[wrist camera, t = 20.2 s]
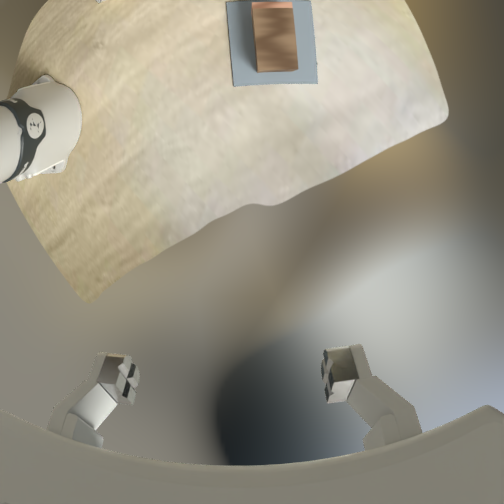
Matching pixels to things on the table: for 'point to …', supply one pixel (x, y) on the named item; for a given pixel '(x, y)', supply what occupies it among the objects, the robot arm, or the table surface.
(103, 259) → the table surface
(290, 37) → the walnut block
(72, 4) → the table surface
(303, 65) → the slate pad
